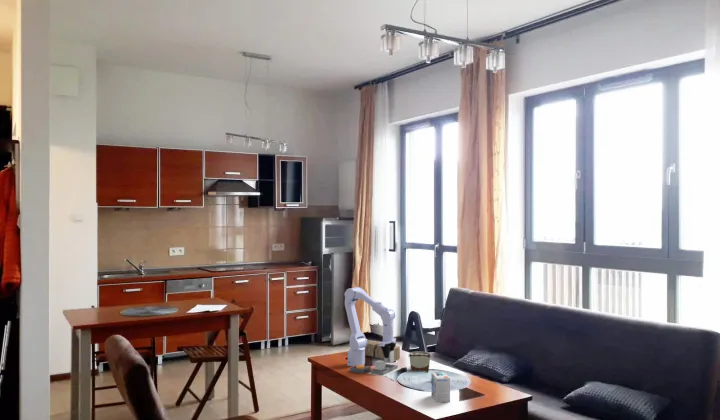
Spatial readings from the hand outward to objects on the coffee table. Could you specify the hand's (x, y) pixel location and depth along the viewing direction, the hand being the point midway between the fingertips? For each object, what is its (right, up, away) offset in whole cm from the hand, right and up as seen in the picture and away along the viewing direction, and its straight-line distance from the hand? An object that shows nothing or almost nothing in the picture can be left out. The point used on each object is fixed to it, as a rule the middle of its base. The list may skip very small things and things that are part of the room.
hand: (388, 357), depth 309 cm
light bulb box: (+22, -6, -50) cm, 55 cm away
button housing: (-15, -7, -4) cm, 18 cm away
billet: (0, -3, 0) cm, 3 cm away
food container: (+17, -8, -1) cm, 19 cm away
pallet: (-2, -7, -4) cm, 9 cm away
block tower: (-4, -9, +34) cm, 35 cm away
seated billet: (-5, -6, -8) cm, 11 cm away
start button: (-15, -6, -4) cm, 17 cm away
